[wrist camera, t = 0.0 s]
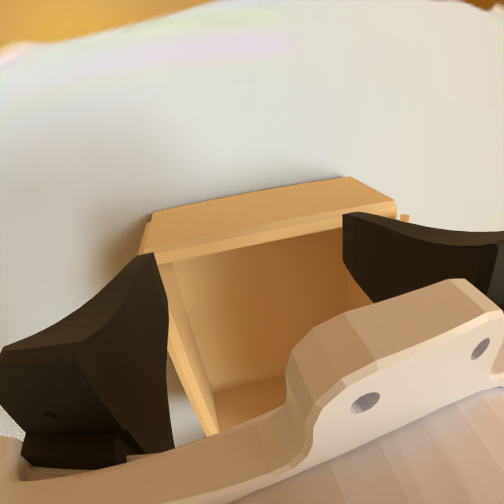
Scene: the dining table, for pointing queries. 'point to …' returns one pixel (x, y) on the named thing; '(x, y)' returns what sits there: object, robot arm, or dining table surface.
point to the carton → (253, 288)
